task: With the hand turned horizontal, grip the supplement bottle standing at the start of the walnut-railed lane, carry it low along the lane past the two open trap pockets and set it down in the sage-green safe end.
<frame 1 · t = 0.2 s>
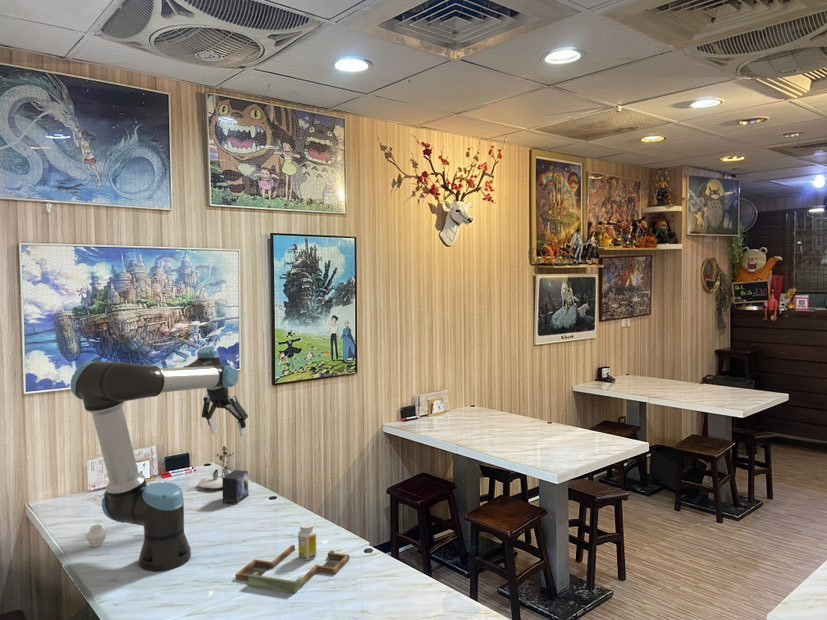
hand: (229, 433, 241), 28 cm above the table, fingers open, 13 cm apart
off-white rounded lump: (96, 545, 205), on the table
supplement bottle: (307, 557, 193), on the table
lane: (295, 568, 186), on the table
small box: (236, 500, 246), on the table
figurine: (222, 485, 266), on the table
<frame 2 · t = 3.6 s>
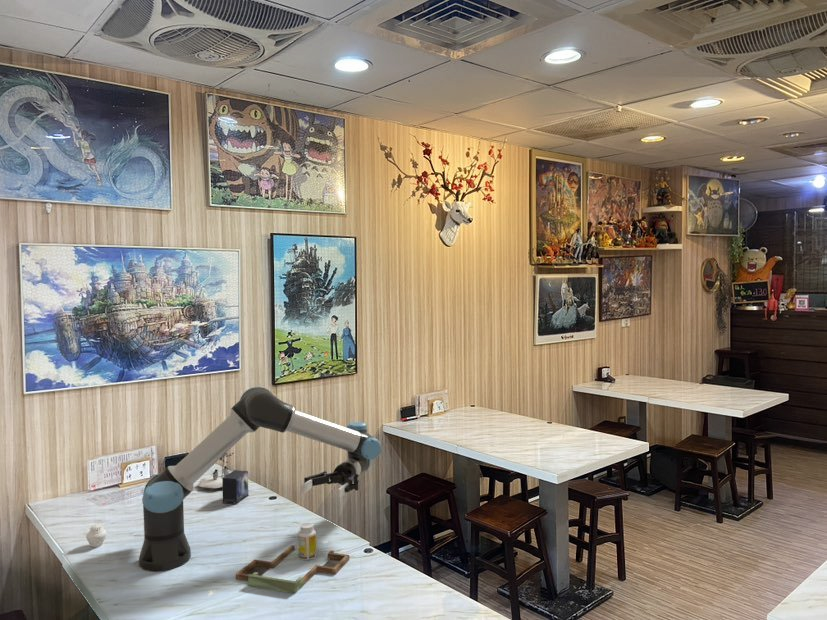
hand: (320, 491, 202), 18 cm above the table, fingers open, 13 cm apart
nothing on the table moved.
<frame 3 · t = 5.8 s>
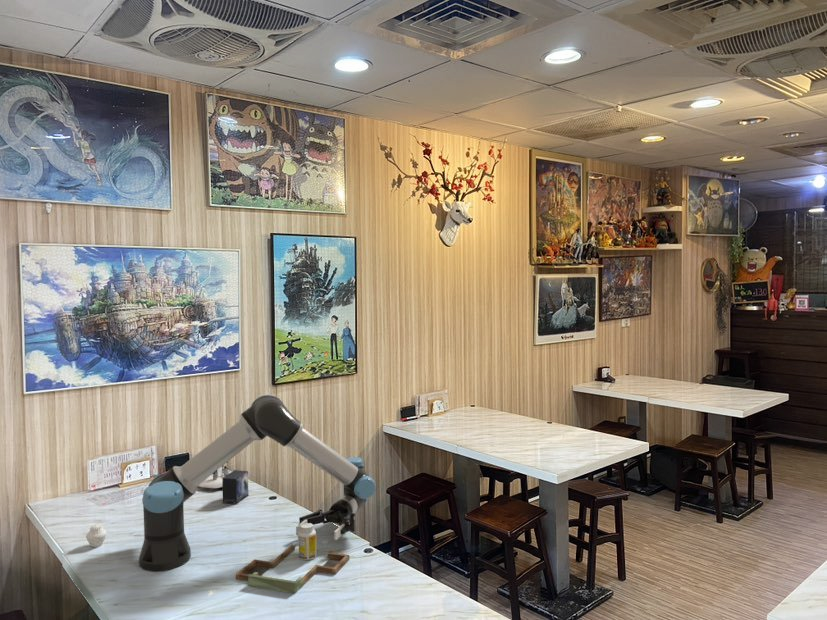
hand: (315, 533, 197), 6 cm above the table, fingers open, 13 cm apart
nothing on the table moved.
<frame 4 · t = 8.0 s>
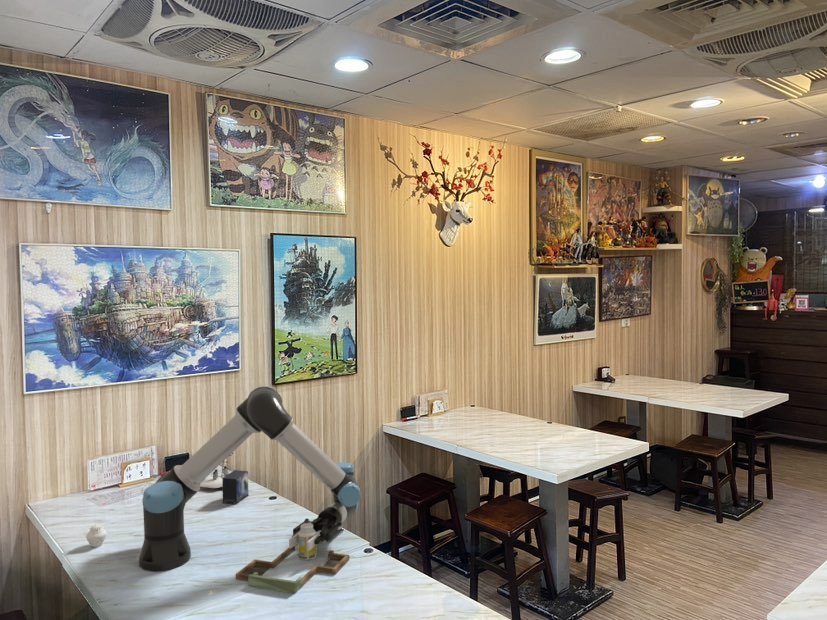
hand: (299, 545, 188), 6 cm above the table, fingers closed on supplement bottle, 6 cm apart
supplement bottle: (307, 557, 193), on the table, touching gripper
everything else where it was.
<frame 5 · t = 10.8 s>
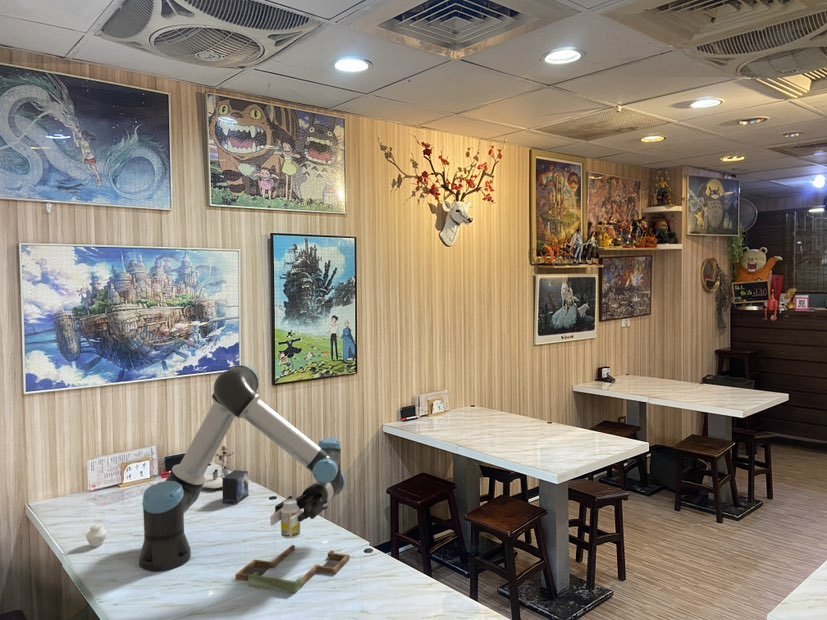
hand: (281, 521, 176), 18 cm above the table, fingers closed on supplement bottle, 6 cm apart
supplement bottle: (290, 535, 182), point 12 cm above the table, touching gripper
everything else where it was.
when the fingers open (7 cm above the table, at t = 13.8 s): supplement bottle drops 1 cm, on the table.
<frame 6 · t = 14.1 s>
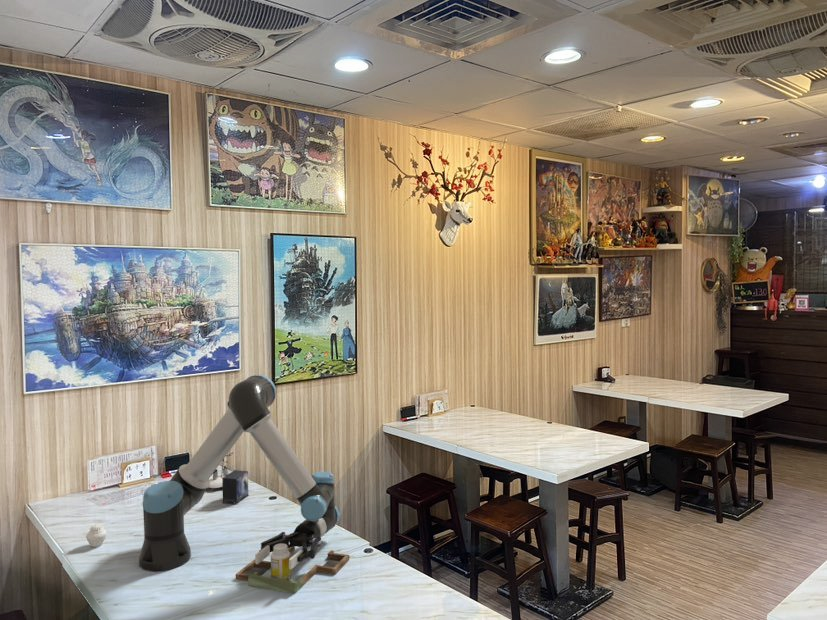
hand: (273, 561, 174), 7 cm above the table, fingers open, 10 cm apart
supplement bottle: (281, 581, 178), on the table
everything else where it was.
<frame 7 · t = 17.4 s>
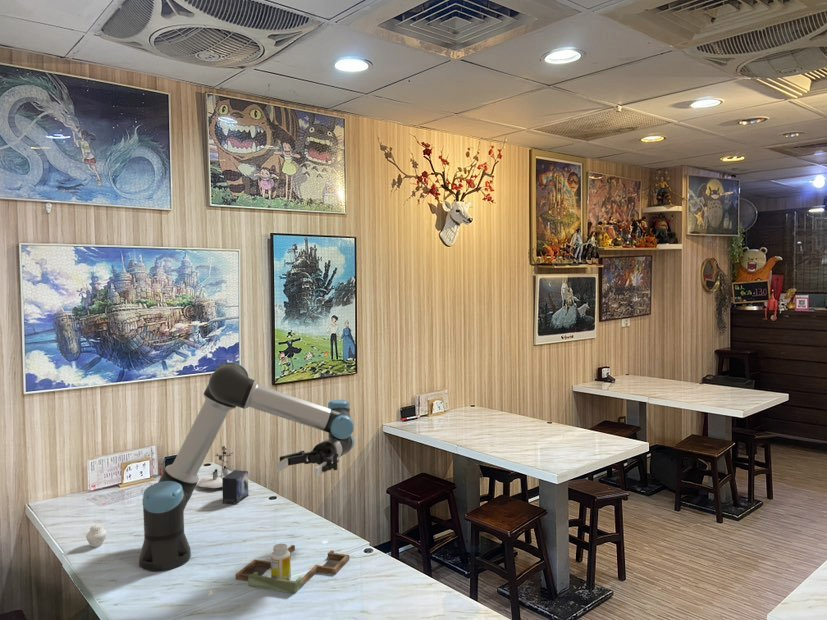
hand: (295, 470, 186), 30 cm above the table, fingers open, 13 cm apart
nothing on the table moved.
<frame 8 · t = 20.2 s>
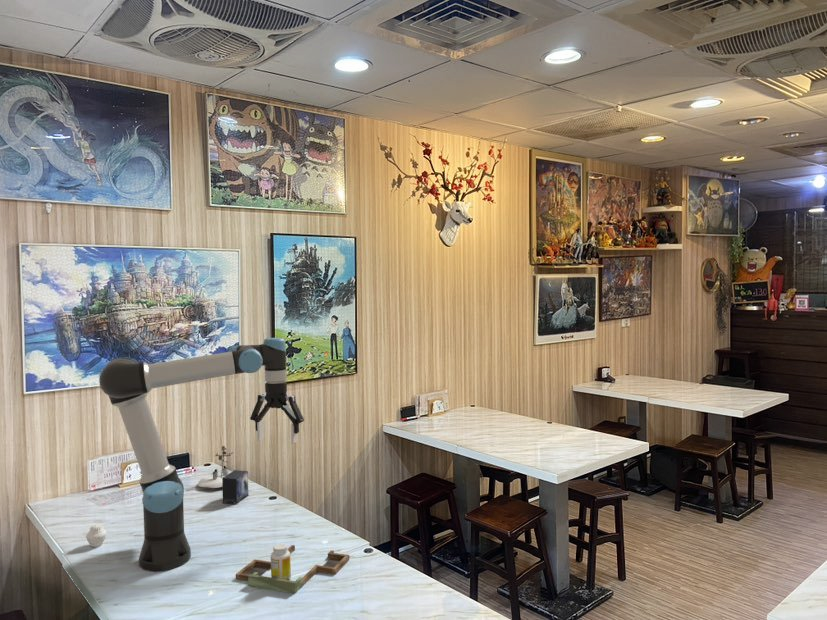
hand: (277, 441, 217), 31 cm above the table, fingers open, 13 cm apart
nothing on the table moved.
at the end: supplement bottle inside the target area on the lane (0.1 cm from its centre), point 0.0 cm above the lane's base; supplement bottle tilted 0°; the gripper is holding nothing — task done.
